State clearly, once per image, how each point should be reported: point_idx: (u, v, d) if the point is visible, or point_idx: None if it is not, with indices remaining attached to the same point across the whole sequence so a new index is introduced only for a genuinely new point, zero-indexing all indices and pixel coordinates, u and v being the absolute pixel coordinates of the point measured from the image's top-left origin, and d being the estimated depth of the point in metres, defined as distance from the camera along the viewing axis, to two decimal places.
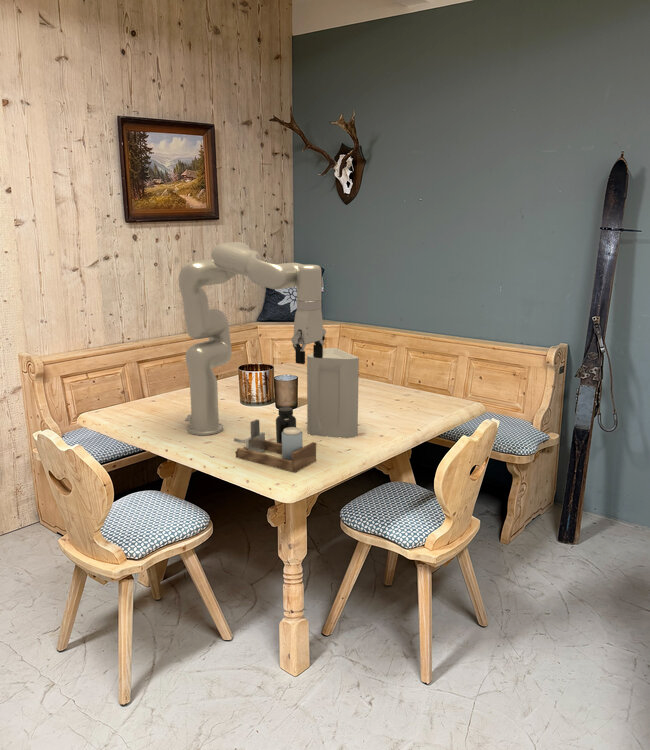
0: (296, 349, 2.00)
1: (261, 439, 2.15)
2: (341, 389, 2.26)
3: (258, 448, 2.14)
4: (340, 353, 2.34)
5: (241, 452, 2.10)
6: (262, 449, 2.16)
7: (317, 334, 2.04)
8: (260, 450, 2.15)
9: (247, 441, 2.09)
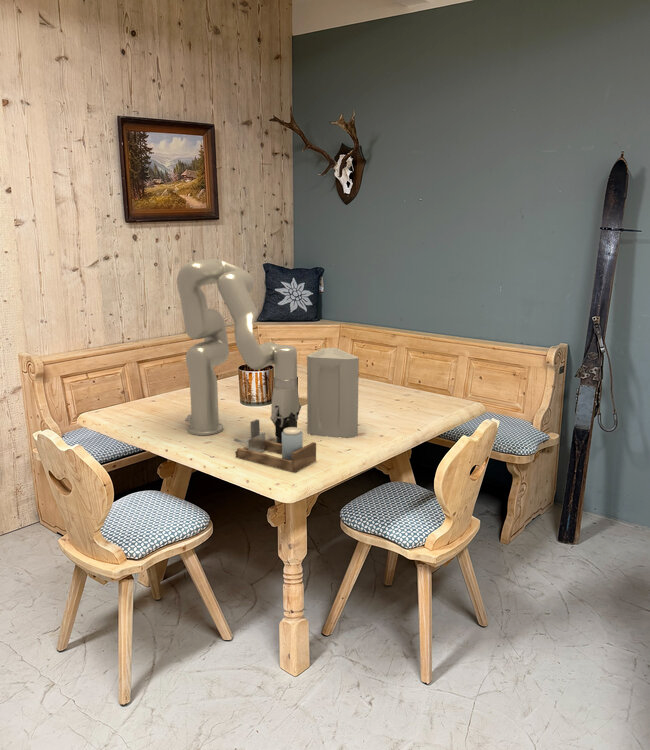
0: (276, 425, 2.19)
1: (261, 439, 2.15)
2: (341, 389, 2.26)
3: (258, 448, 2.14)
4: (340, 353, 2.34)
5: (241, 452, 2.10)
6: (262, 449, 2.16)
7: (293, 408, 2.21)
8: (260, 450, 2.15)
9: (247, 441, 2.09)
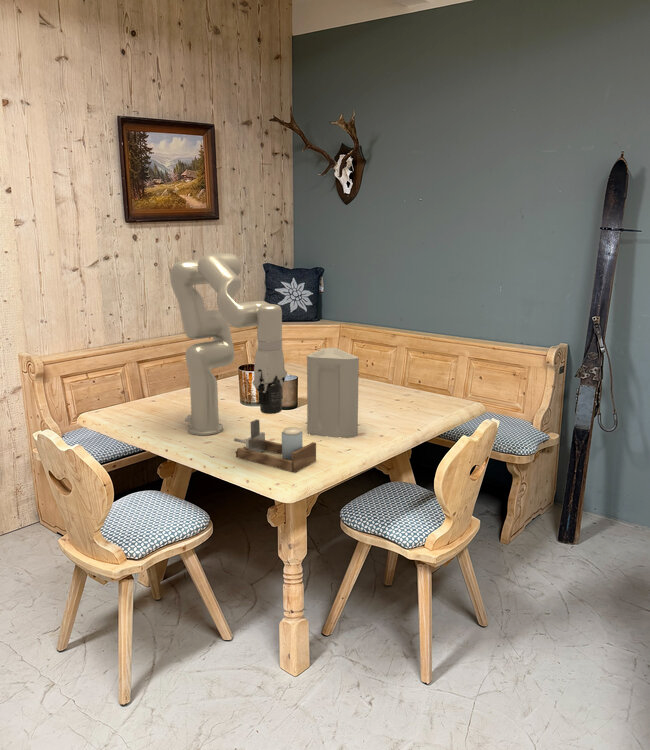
0: (259, 390, 2.01)
1: (261, 439, 2.15)
2: (341, 389, 2.26)
3: (258, 448, 2.14)
4: (340, 353, 2.34)
5: (241, 452, 2.10)
6: (262, 449, 2.16)
7: (278, 373, 2.04)
8: (260, 450, 2.15)
9: (247, 441, 2.09)
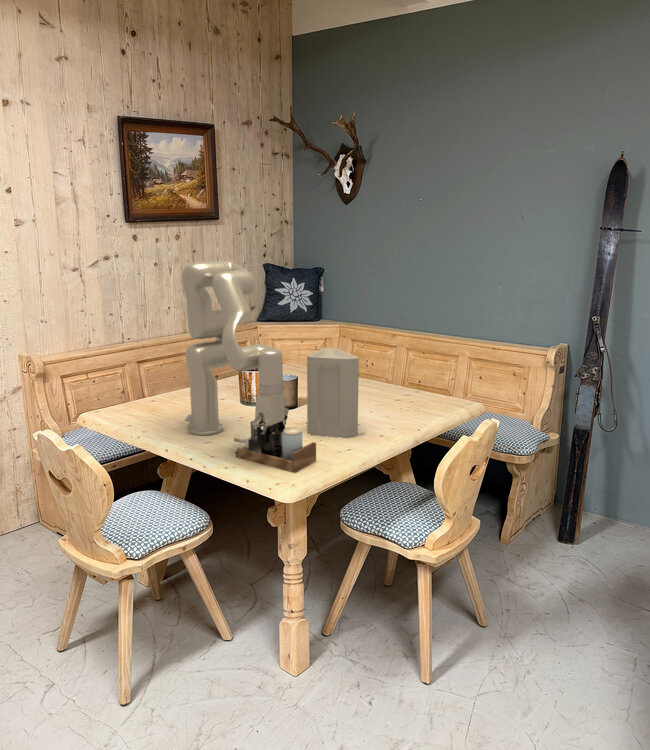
0: (257, 432, 2.03)
1: None
2: (341, 389, 2.26)
3: (258, 448, 2.14)
4: (340, 353, 2.34)
5: (241, 452, 2.10)
6: None
7: (279, 416, 2.07)
8: (260, 450, 2.15)
9: (247, 441, 2.09)
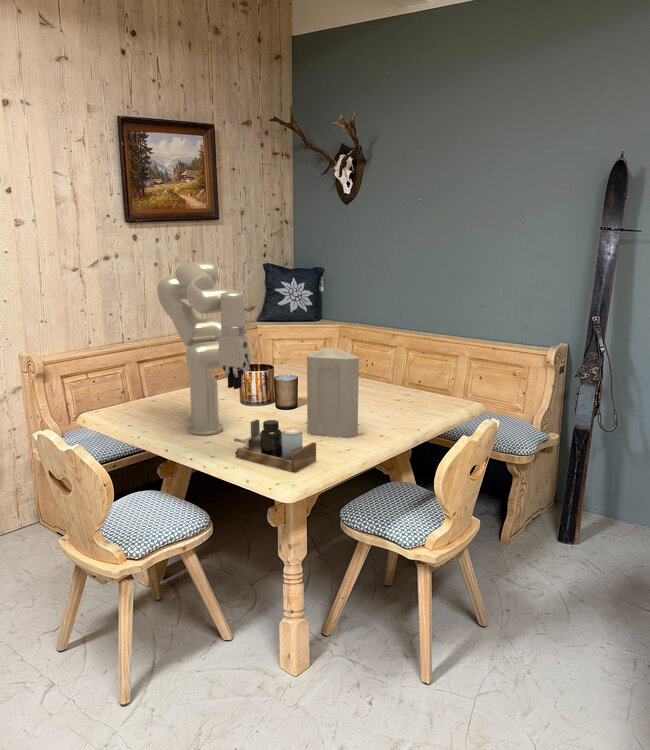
0: None
1: None
2: (341, 389, 2.26)
3: (258, 448, 2.14)
4: (340, 353, 2.34)
5: (241, 452, 2.10)
6: None
7: (231, 360, 2.09)
8: (260, 450, 2.15)
9: (247, 441, 2.09)
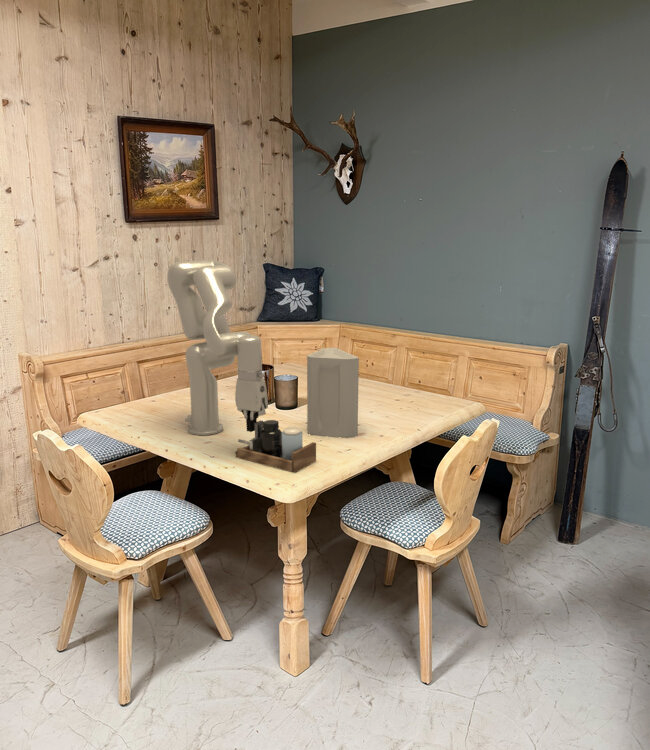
0: None
1: None
2: (341, 389, 2.26)
3: None
4: (340, 353, 2.34)
5: (241, 452, 2.10)
6: None
7: (249, 404, 2.08)
8: None
9: (251, 442, 2.09)
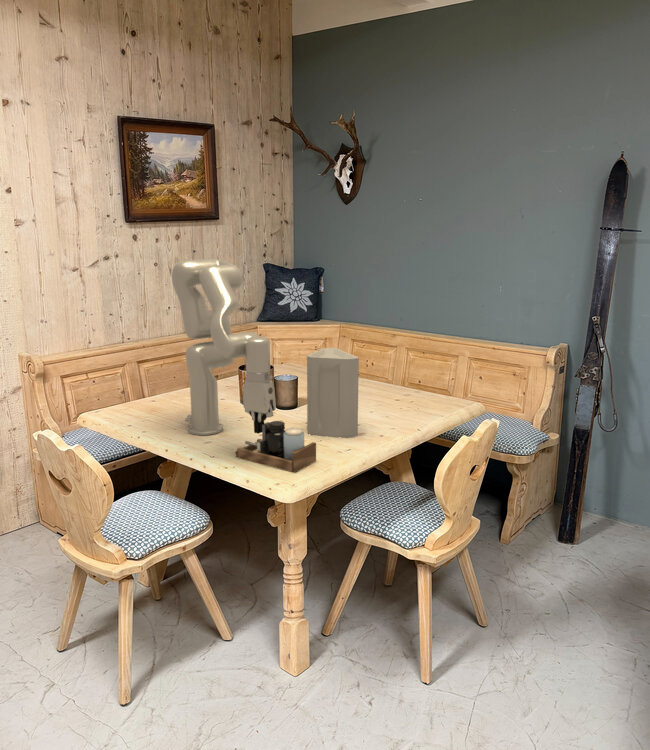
0: None
1: None
2: (341, 389, 2.26)
3: None
4: (340, 353, 2.34)
5: (241, 452, 2.10)
6: None
7: (256, 405, 2.07)
8: None
9: (259, 444, 2.07)
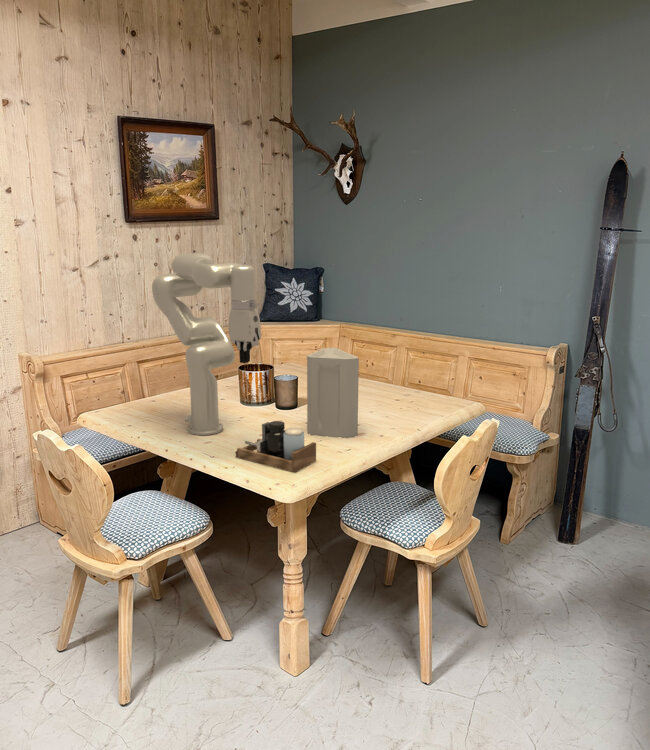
0: None
1: None
2: (341, 389, 2.26)
3: None
4: (340, 353, 2.34)
5: (241, 452, 2.10)
6: None
7: (242, 334, 2.08)
8: None
9: (258, 444, 2.07)
